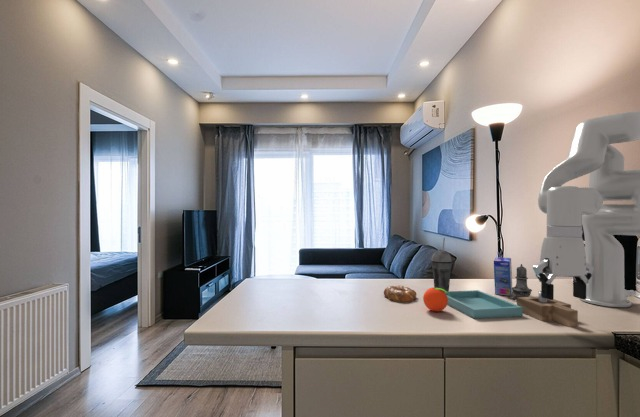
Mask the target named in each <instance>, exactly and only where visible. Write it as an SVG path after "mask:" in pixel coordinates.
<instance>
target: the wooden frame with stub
mask: <svg viewBox="0 0 640 417" xmlns="http://www.w3.org/2000/svg"><path fill="white" fill-rule="evenodd" d="M516 297H517V301H516V305H518V306H521V307H523V314H524V315H527V316H528V315H529V317H531V318H534V319H537V320H539V321H541V322H545V321H550V322H551V321H554V322H556V323H559V324H561V325H564V326H566V327H569V328H571V327H572V328H573V327H578V326H579V325H578V324H579V321H578V320H579V319H578V318H579V313H578V312H579V311H578V310H577V309H575V308H572V304H570V303H567V302H565V301H564V302H563V301H561V300H557V299H553V300H549V299H547V304H542V303H539V295H538V296H529V297H518V296H516Z"/></svg>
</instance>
